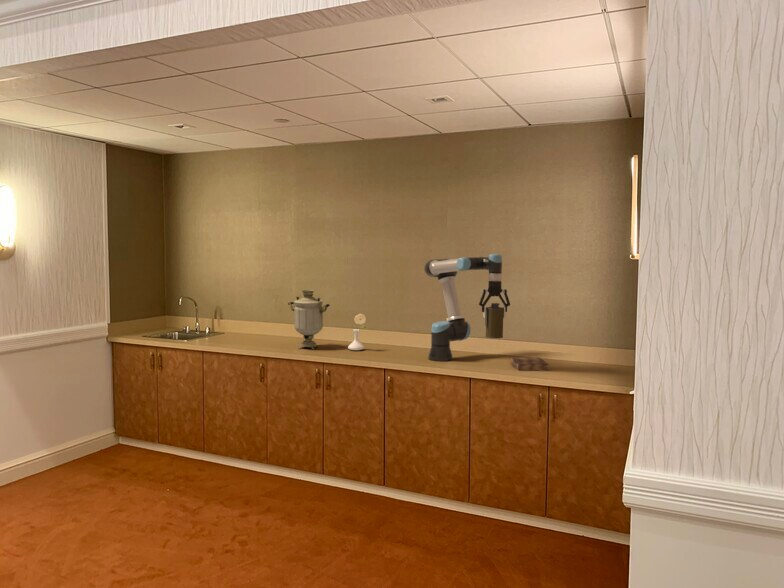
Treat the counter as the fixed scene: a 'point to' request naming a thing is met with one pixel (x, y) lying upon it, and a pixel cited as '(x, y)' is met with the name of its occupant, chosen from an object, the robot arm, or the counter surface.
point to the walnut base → (529, 364)
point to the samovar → (308, 317)
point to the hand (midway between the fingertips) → (494, 317)
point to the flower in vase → (356, 344)
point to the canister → (494, 321)
